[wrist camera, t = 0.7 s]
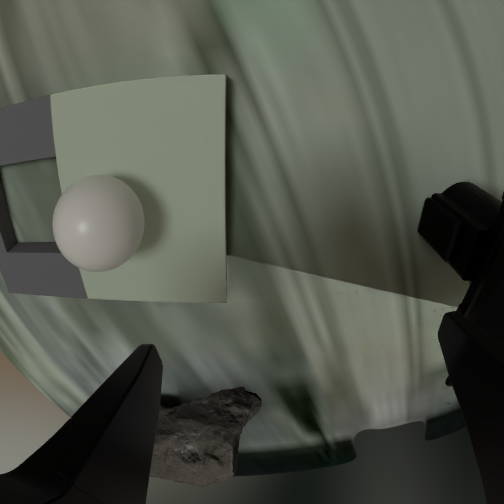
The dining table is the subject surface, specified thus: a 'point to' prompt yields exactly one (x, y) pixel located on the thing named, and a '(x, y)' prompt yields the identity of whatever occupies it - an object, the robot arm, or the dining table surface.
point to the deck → (130, 185)
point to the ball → (98, 223)
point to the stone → (202, 437)
